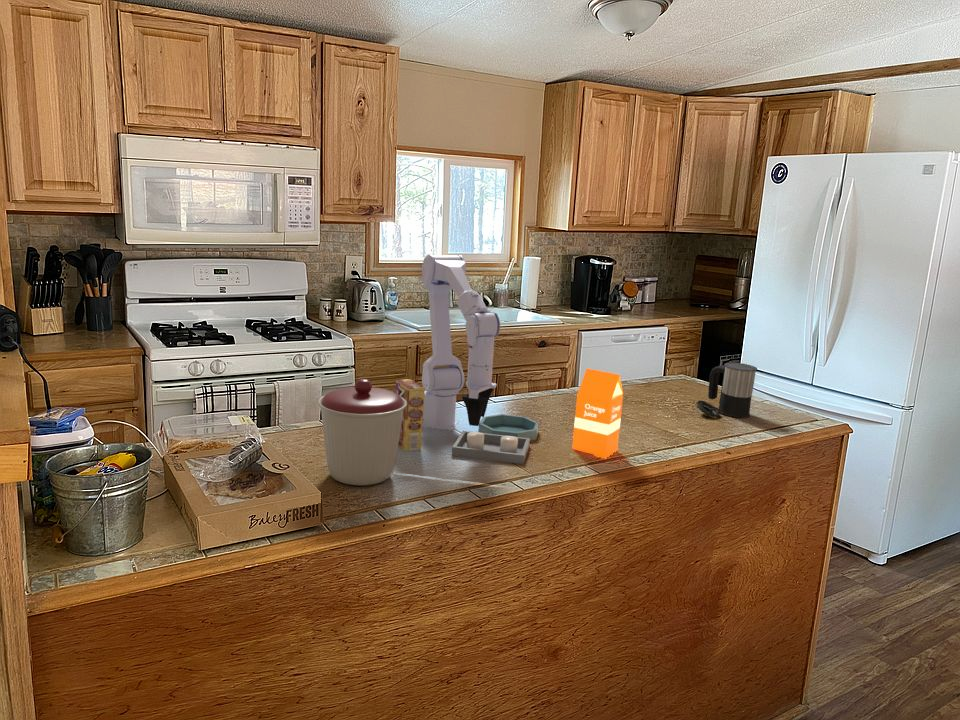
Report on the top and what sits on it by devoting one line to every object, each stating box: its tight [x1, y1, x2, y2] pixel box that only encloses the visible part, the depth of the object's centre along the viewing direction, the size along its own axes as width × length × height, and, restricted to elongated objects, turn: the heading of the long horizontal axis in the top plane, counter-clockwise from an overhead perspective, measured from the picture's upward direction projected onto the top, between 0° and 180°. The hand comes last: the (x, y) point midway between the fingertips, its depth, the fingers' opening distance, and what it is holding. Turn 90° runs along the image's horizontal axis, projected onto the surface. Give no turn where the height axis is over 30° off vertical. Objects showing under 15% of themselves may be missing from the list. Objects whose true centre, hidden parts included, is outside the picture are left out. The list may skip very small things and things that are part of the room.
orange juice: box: [571, 368, 624, 460], centre depth 177 cm, size 8×9×20 cm
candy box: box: [395, 378, 426, 451], centre depth 173 cm, size 9×4×15 cm, turn 26°
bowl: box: [477, 413, 540, 442], centre depth 187 cm, size 15×15×3 cm
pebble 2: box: [500, 436, 518, 453], centre depth 172 cm, size 4×4×4 cm
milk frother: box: [696, 361, 758, 418], centre depth 217 cm, size 14×16×15 cm
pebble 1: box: [467, 431, 484, 449], centre depth 173 cm, size 4×4×4 cm
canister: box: [317, 378, 407, 486], centre depth 152 cm, size 18×18×21 cm
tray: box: [451, 430, 531, 465], centre depth 173 cm, size 17×13×2 cm
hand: (476, 420), depth 172 cm, fingers open, 7 cm apart
